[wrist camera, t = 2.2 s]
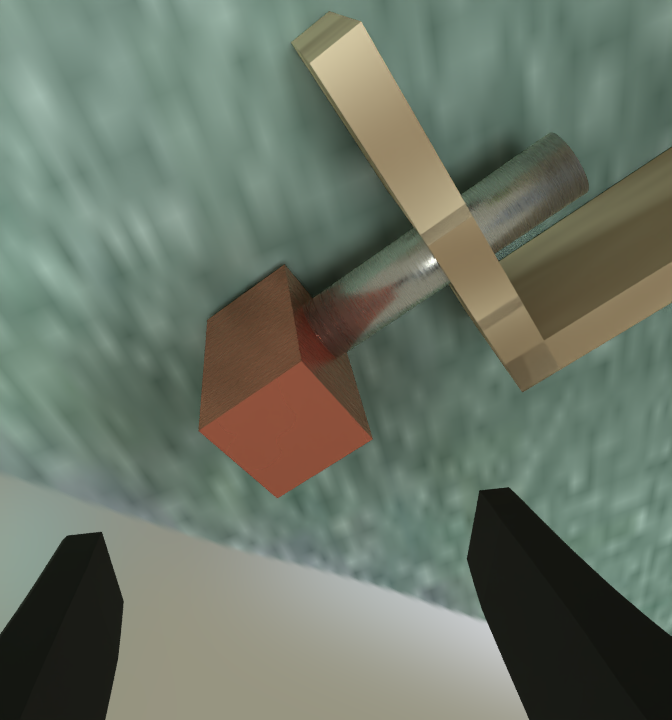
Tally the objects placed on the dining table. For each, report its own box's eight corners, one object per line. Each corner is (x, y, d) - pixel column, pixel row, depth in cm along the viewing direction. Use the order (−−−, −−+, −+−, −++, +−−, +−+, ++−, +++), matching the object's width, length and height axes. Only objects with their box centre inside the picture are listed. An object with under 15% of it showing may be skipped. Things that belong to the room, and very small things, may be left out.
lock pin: (554, 187, 18) (664, 258, 13) (267, 380, 20) (277, 498, 15) (513, 98, 16) (621, 144, 11) (207, 319, 18) (198, 431, 14)
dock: (858, 64, 17) (1028, 87, 14) (469, 316, 20) (522, 392, 17) (806, -381, 12) (1057, -540, 8) (291, 42, 15) (309, 63, 11)
